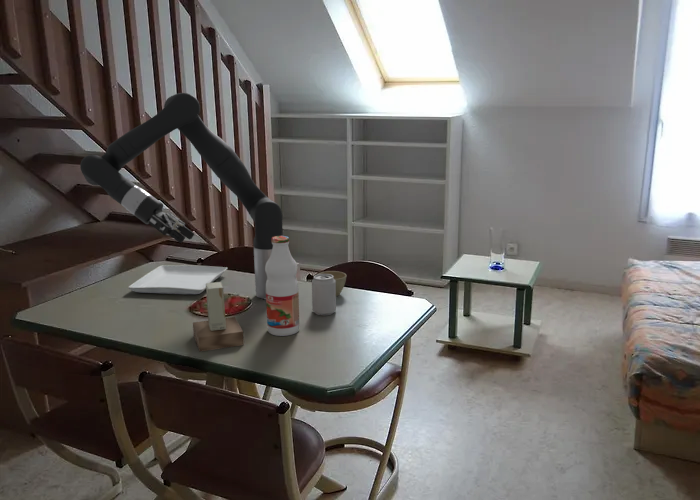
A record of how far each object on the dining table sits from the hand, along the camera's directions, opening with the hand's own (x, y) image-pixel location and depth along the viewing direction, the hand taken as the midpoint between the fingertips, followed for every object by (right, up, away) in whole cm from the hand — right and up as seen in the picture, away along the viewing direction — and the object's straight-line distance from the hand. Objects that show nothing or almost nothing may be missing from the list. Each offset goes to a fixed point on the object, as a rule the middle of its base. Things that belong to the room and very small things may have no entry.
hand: (188, 238), depth 177 cm
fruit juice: (+27, -27, +3) cm, 39 cm away
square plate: (-15, -16, +46) cm, 51 cm away
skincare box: (+9, -25, -5) cm, 27 cm away
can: (+39, -23, +17) cm, 48 cm away
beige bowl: (+41, -19, +34) cm, 56 cm away
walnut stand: (+10, -29, -4) cm, 31 cm away
